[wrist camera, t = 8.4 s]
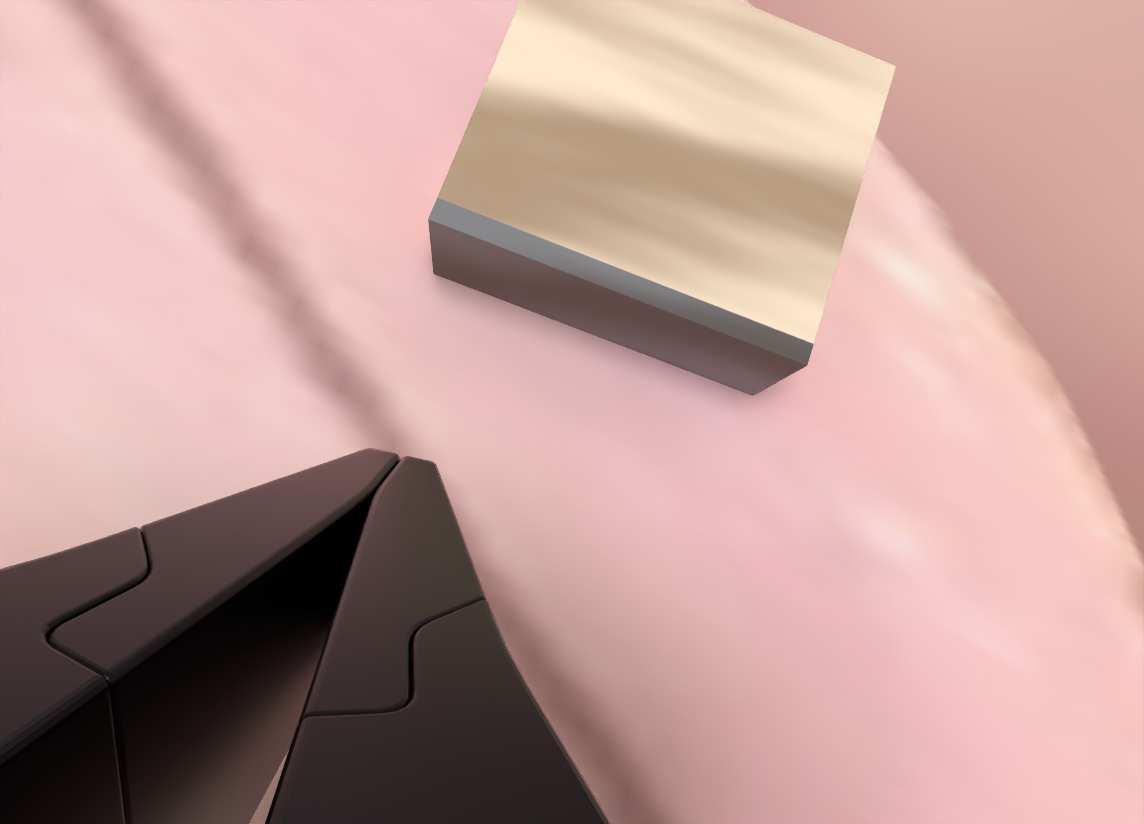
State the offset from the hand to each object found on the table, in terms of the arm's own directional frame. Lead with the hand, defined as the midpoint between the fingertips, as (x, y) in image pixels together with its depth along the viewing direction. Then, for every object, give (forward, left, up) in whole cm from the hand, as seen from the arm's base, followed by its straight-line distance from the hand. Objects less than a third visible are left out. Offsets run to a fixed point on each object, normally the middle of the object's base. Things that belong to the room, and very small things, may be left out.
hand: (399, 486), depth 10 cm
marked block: (+3, -6, -11) cm, 13 cm away
